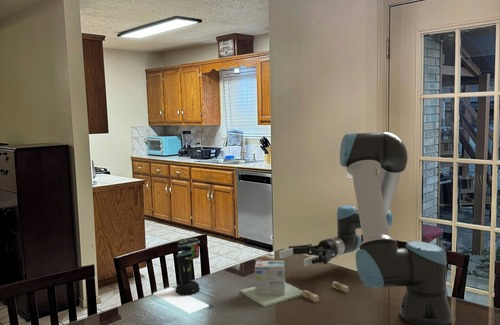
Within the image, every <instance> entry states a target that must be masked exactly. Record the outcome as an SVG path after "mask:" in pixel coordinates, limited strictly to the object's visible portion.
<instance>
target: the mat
mask: <svg viewBox="0 0 500 325" xmlns="http://www.w3.org/2000/svg"><path fill="white" fill-rule="evenodd" d="M303 291H304V290H302V289H300V288H298V287H296V286H294V285H292V284H290V283H287V282H286V281H285V295H256V290H255V286H250V287H246V288H243V289H240V290H239V292H240V293H241V294H243V295H244V296H246V297H247V298H249V299H251V300H252V301H254V302H255V303H257V304H258V305H260V306H261V307H263V308H266V307H269V306H273V305H276V304H278V303H279V302H280V303H283V302H286V301H289V300H292V299H291V298H293V299H295V298H294V297H296V298H298V297H297V296H299V297H301V296H300V295H303ZM288 299H289V300H288ZM280 303H279V304H280Z"/></svg>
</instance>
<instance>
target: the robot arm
mask: <svg viewBox="0 0 500 325" xmlns="http://www.w3.org/2000/svg"><path fill="white" fill-rule="evenodd" d="M408 159H409V158H408V151H407V148H406V146H405V144H404V142H403V140H401V139H400V137H398V136H397V135H396V134H394V133H391V132H385V131H384V132H383V131H381V132H360V133H359V132H358V133H357V132H354V133H346V134H345V135H344V136H343V137H342V138H341V143H340V149H339V164H340V166H341V167H343V168H345V167H346V172H347V174H348V175H350V176H352V182H353V183H352V184H353V188H354V194H355V200H356V205H357V209H356V207H355V206H353V205H345V204H344V205H340V206H338V207H337V212H336V215H337V216H336V219H337V220H336V222H337V233H336V234H337V236H334V237H329V238H327V239H322V240H320V241H319V243H318V244H317V245H316V244H315V245H312V243H308V244H302V245H290V246H288V248H287V249H283V250H279V252H278V253H279V254H278V255H279V259H284V258H288V257H292V256H294V255H308V256H310V257H306V258H303V267H304V268H306V267H309V266H313V265H316V264H322V263H323V265H327V264H328V263H329V262H330V261H331V260H332V259H334V258H337V256H341V255H344V254H349V253H353V252H355V267H356V270H357V274H358V277H359V278H360V281H361V282H362V284H363V285H364V286H365V287H368V288H375V289H376V288H378V289H383V288H395V287H397V288H399V287H405V293H404V296H403V299H402V302H401V304H400V306H399V311H400V313H399V314H400V316H401V318H402V319H403V320H404V321H406V322H408V323H410V324H412V325H450V324H451V323H452V321H453V315H452V314H453V313H452V309H451V306H450V304H449V300H448V297H447V264H448V262H447V253H446V251H445V249H443V248H442V247H441V246H439V245H436V244H432V243H430V242H424V241H416V240H415V241H413V240H412V241H411V240H410V241H408V242H406V245H405V247H398V243H397V240H396V239H394V238H393V237H391V233H390V229H389V228H390V227H391V226H392V224H393V214H392V212H391V210H390V208H391V205H392V202H393V198H394V196H395V193H396V189H397V187H398V183H399V179H400V177H401V173H402V172H404V171H405V169H406V167H407V164H408ZM357 229H358V230H359V229H361V234H362V240H361V236H360V235H359V234H358V233H357Z"/></svg>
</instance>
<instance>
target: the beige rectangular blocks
mask: <svg viewBox="0 0 500 325" xmlns="http://www.w3.org/2000/svg"><path fill="white" fill-rule="evenodd" d="M331 283H332V284H331V285H332V286H331V288H333V289H335V290H337V291H340V292H342V293H344V294H347V293H349V291H350V290H349V289H350V288H349V287H350V286H348V285H345V284H343V283H340V282H339V281H336V280H334V281H332V282H331ZM302 291H303V296H305V297H307V298H309V299H311V300H313V301H315V302H316V301H319V302H320V296H319V295H317V294H315V293H314V292H311V291H309V290H307V289H305V290H302ZM303 296H302V297H303ZM305 297H304V298H305ZM307 298H306V299H307ZM309 299H308V300H309ZM311 300H310V301H311ZM313 301H312V302H313ZM315 302H314V303H315ZM316 303H317V302H316Z"/></svg>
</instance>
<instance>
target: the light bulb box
mask: <svg viewBox="0 0 500 325" xmlns="http://www.w3.org/2000/svg"><path fill="white" fill-rule="evenodd" d="M285 271H286V270H285V261H284V260H256V261H255V264H254V283H255V284H254V285H255V290H256V295H285V282H286V277H285V276H286V275H285V274H286V273H285Z"/></svg>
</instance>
